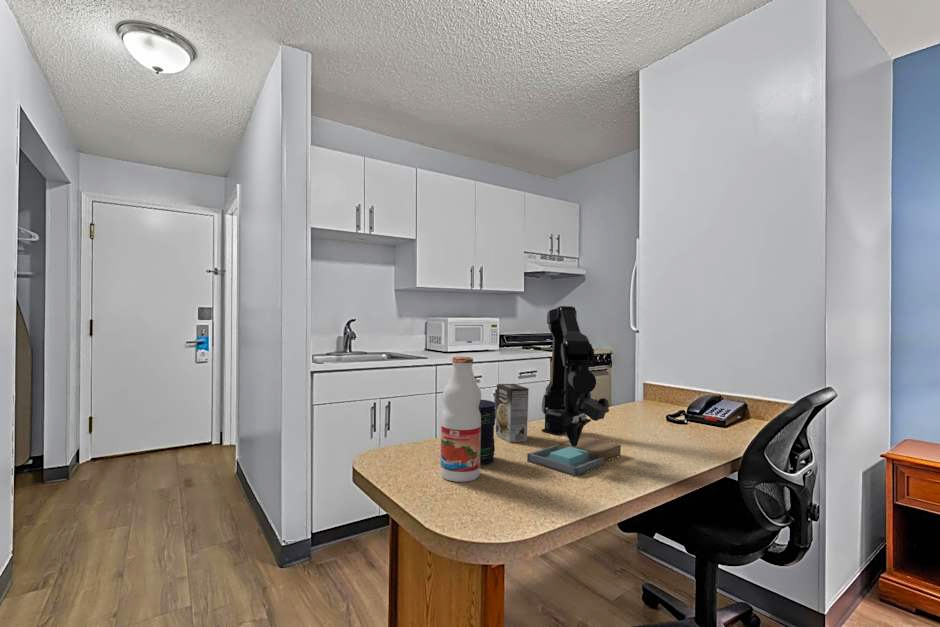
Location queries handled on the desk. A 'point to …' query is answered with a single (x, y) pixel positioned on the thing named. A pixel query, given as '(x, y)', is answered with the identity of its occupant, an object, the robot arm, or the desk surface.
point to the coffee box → (512, 412)
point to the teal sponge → (569, 456)
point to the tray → (544, 460)
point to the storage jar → (487, 431)
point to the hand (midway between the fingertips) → (574, 446)
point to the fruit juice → (461, 424)
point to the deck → (595, 448)
